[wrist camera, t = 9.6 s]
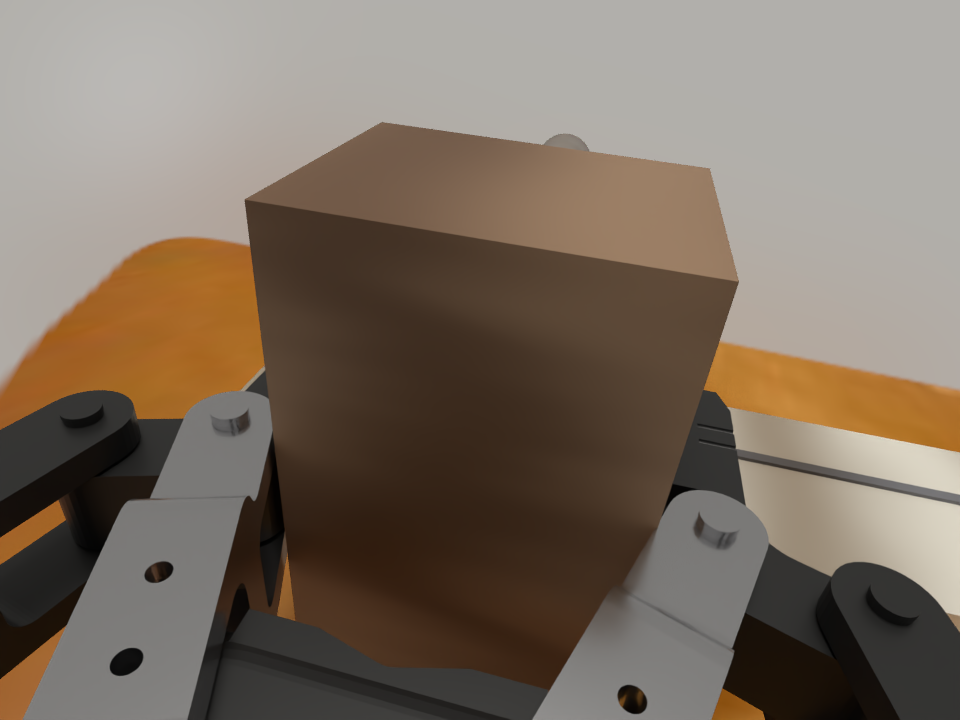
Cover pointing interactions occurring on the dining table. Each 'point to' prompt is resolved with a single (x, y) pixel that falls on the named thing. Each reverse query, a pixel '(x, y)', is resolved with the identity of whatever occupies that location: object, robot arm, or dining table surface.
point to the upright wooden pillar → (480, 383)
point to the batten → (852, 499)
